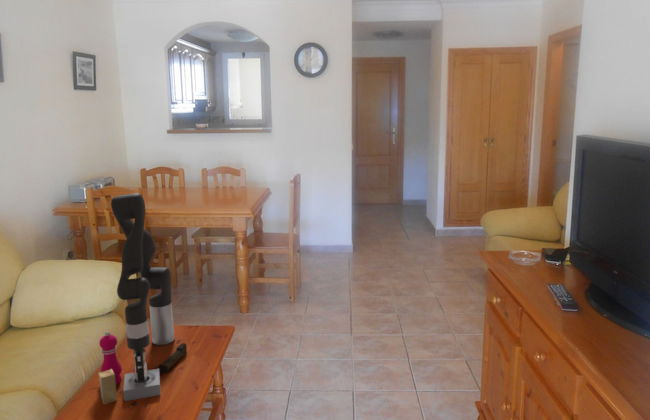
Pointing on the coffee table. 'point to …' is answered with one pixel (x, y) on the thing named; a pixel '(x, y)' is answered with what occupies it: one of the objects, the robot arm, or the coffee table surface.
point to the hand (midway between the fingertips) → (141, 374)
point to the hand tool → (173, 358)
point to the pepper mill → (110, 355)
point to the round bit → (144, 374)
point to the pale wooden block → (108, 386)
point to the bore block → (141, 386)
